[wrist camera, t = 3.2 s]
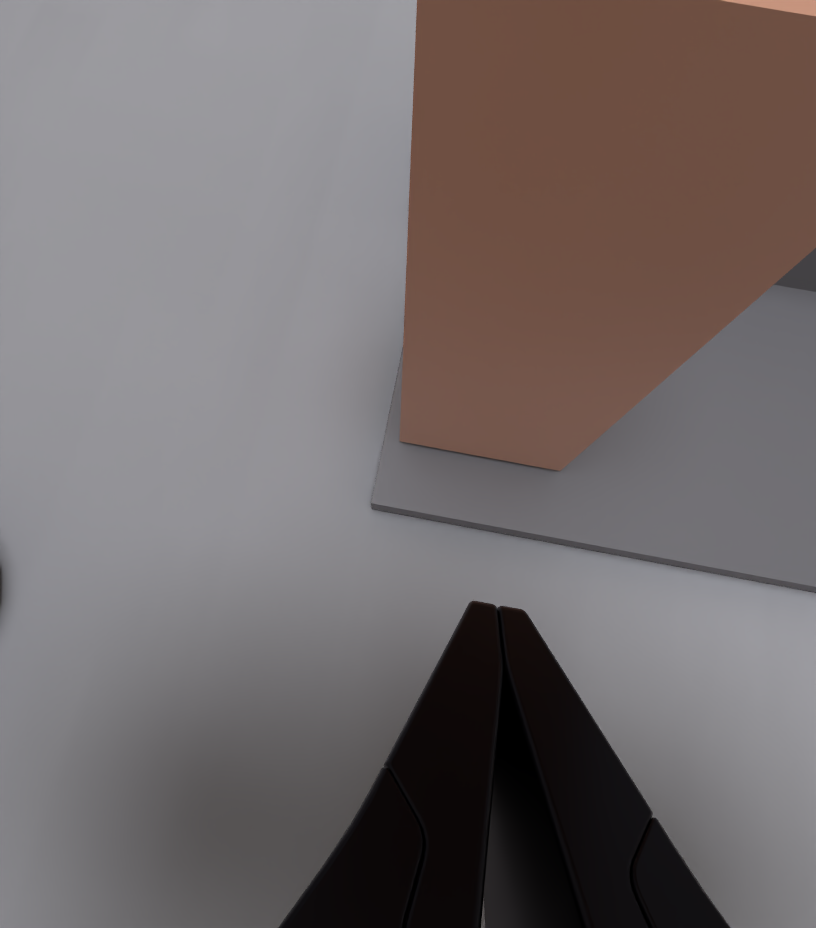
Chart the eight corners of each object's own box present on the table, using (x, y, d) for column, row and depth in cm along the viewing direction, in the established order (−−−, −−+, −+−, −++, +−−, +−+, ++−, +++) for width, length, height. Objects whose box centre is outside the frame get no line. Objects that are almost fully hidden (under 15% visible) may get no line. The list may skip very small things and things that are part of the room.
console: (1062, 639, 19) (1410, 650, 12) (372, 508, 19) (362, 454, 13) (1025, 206, 23) (1273, 45, 16) (453, 107, 23) (477, -87, 17)
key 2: (560, 471, 18) (1038, 53, 5) (399, 441, 18) (419, -50, 5) (575, 352, 19) (1005, -271, 6) (422, 325, 19) (491, -353, 6)
